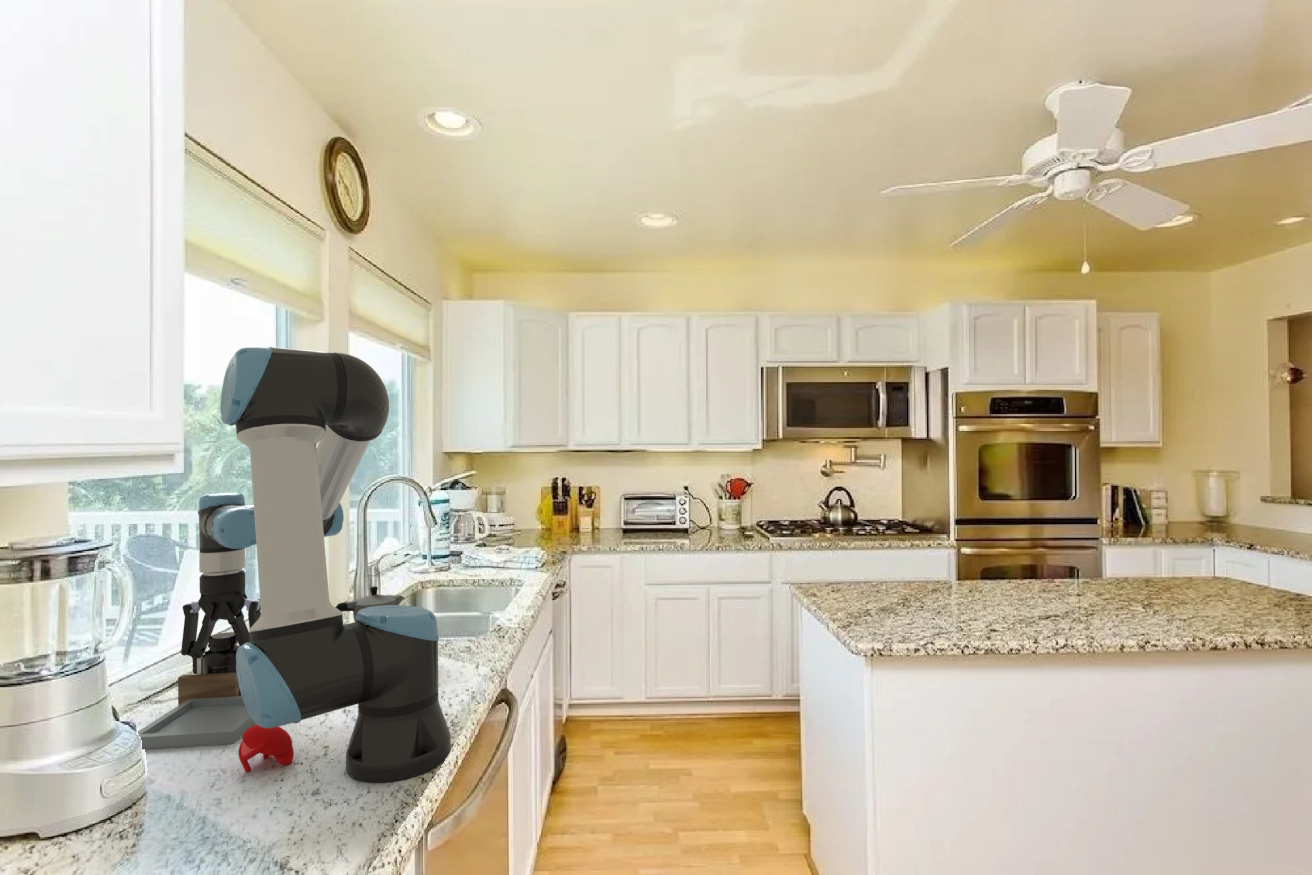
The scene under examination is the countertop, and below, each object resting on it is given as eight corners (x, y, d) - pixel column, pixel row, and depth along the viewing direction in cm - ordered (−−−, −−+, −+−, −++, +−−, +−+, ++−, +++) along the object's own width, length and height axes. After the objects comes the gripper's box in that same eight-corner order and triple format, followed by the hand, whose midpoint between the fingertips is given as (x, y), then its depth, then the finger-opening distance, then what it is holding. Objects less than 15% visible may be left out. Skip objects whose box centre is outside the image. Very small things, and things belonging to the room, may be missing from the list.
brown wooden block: (235, 706, 120) (235, 674, 120) (178, 709, 119) (178, 677, 119) (265, 683, 132) (265, 654, 132) (213, 686, 130) (213, 657, 130)
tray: (233, 743, 105) (232, 731, 105) (127, 750, 103) (127, 737, 103) (279, 704, 121) (279, 693, 121) (188, 709, 119) (188, 698, 119)
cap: (221, 755, 94) (252, 736, 93) (243, 725, 100) (272, 706, 99) (260, 788, 97) (291, 770, 96) (280, 757, 102) (308, 739, 102)
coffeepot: (396, 656, 148) (395, 578, 148) (413, 666, 141) (412, 584, 141) (324, 673, 137) (323, 590, 137) (339, 685, 130) (338, 597, 130)
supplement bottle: (252, 689, 128) (252, 630, 128) (226, 703, 122) (226, 640, 122) (221, 689, 129) (220, 629, 129) (193, 702, 122) (193, 640, 122)
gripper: (284, 566, 130) (285, 678, 130) (180, 569, 128) (181, 684, 128) (266, 573, 123) (267, 692, 123) (156, 577, 121) (157, 699, 121)
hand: (224, 688), depth 125 cm, fingers closed on supplement bottle, 7 cm apart
